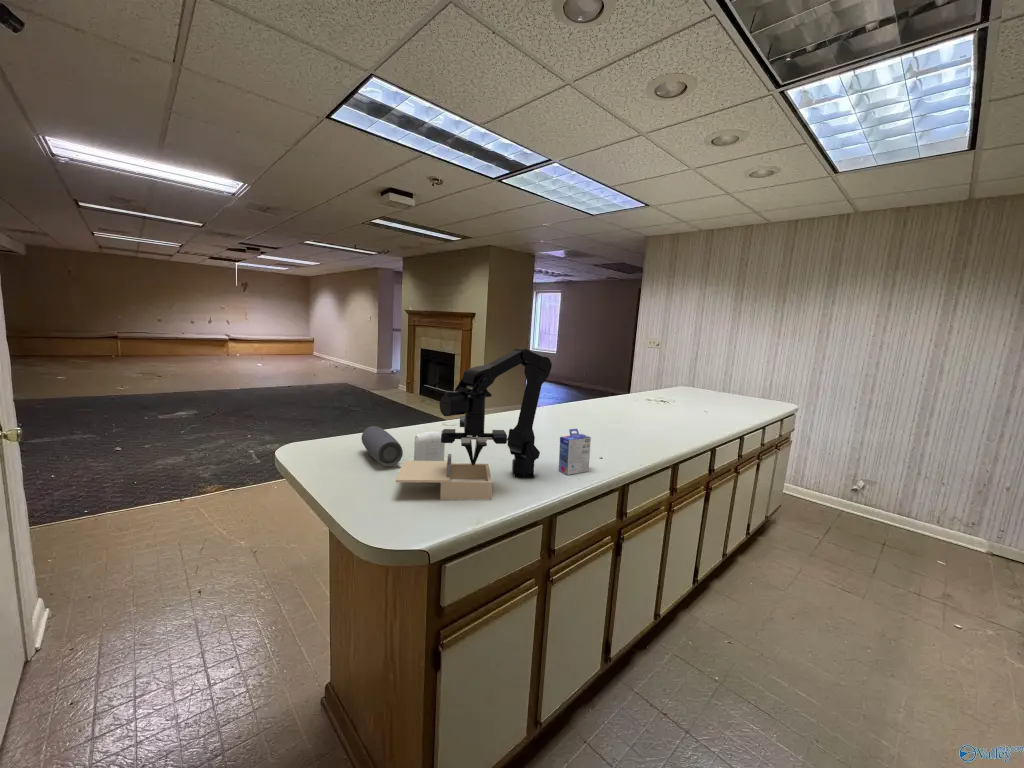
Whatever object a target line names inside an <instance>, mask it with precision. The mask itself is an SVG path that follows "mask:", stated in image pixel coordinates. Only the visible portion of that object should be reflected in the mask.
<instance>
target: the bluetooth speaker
mask: <svg viewBox="0 0 1024 768" xmlns="http://www.w3.org/2000/svg"><path fill="white" fill-rule="evenodd" d="M360 440H361V442H362V445H363V446H364V448H365V449H366V451H367V453H368V454H369V455H370V456H371V457H372V458H373V459H375V460H377V461H378V462H379V464H380V465H383V467H384V466H385V467H392V466H395V465H397V464H398V463H400V461H401V460H402V457H403V455H404V450H403V448H402V446H401V444H400V443H399V441H397V440H396V439H395V437H394V436H393V435H392V434H390V433H389V432H387V430H385V429H384V428H382V427H379V426H375V425H371V426H368V427H366V428H365V430H363V431H362V434H361V439H360ZM377 461H376V462H377ZM378 462H377V463H378Z"/></svg>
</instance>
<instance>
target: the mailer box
mask: <svg viewBox="0 0 1024 768" xmlns="http://www.w3.org/2000/svg"><path fill="white" fill-rule="evenodd" d="M492 493H493V479H492V474H491V470H490V465H489V463H475V465H472V464H471V462H470V463H463V462H461V463H460V462H459V463H456V462H455V463H452V462H451V473H450V482H440V501H452V500H454V501H464V500H465V501H478V500H479V501H483V500H484V501H486V500H488V501H492V496H493V495H492Z"/></svg>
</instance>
